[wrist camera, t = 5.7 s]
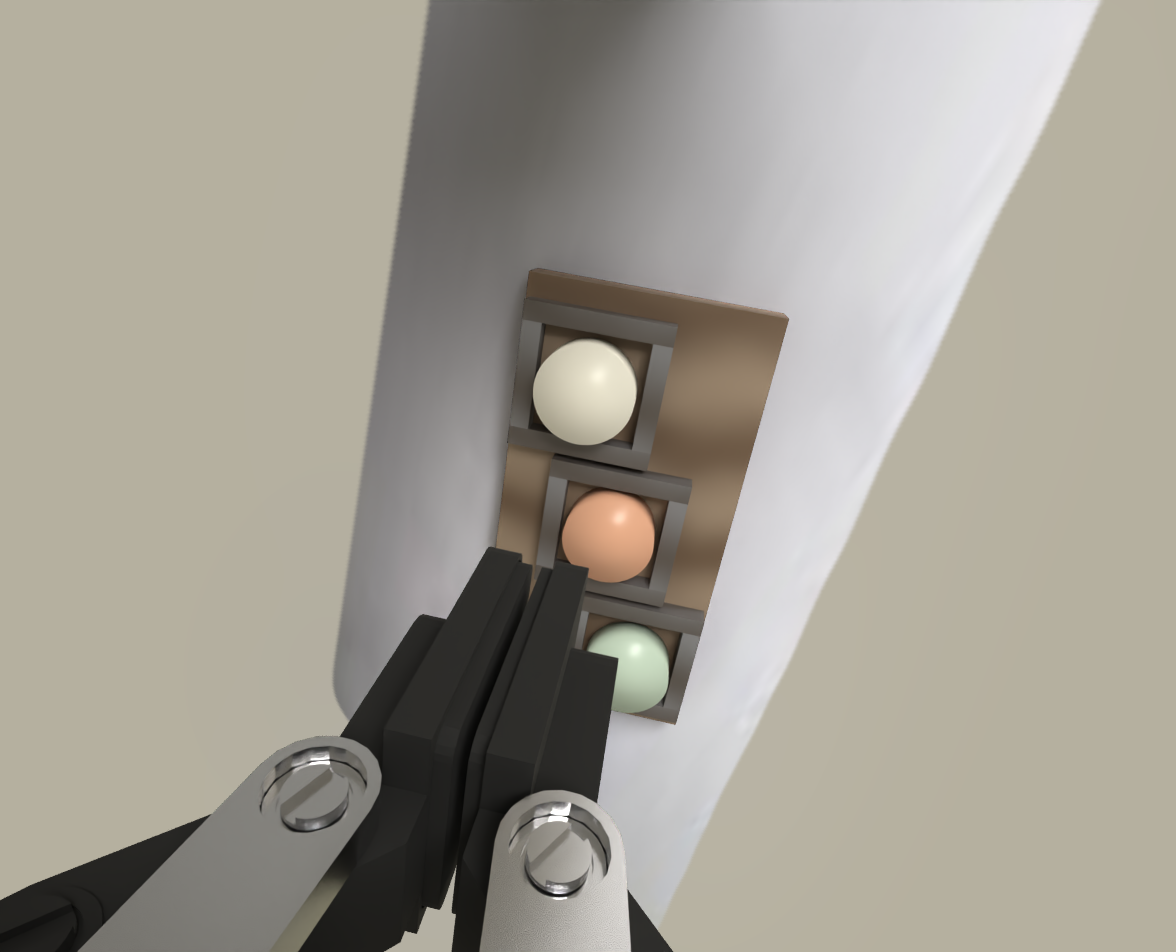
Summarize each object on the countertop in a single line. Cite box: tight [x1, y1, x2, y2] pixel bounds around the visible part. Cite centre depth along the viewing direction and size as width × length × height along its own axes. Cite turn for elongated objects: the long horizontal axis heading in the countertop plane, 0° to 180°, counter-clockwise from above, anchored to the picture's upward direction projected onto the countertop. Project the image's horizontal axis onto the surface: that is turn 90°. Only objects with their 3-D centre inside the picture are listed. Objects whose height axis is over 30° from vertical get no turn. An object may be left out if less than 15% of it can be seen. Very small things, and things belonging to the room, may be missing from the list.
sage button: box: [586, 622, 669, 713], centre depth 38 cm, size 5×5×2 cm
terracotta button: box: [562, 487, 655, 583], centre depth 36 cm, size 5×5×2 cm
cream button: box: [533, 337, 638, 445], centre depth 32 cm, size 5×5×2 cm
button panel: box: [496, 268, 789, 725], centre depth 37 cm, size 26×13×3 cm, turn 171°
